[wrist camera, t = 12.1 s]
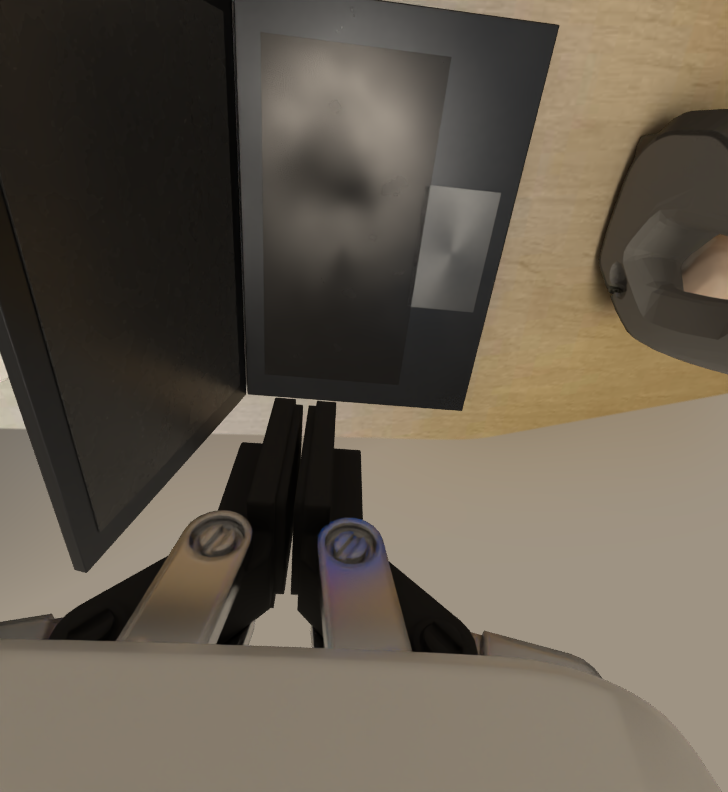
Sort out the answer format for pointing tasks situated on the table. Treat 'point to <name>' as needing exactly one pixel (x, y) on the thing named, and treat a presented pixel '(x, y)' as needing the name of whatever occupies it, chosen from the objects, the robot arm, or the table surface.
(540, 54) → the laptop
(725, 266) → the garlic bulb
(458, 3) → the table surface
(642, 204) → the handheld device
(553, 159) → the table surface
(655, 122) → the table surface
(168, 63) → the laptop screen
